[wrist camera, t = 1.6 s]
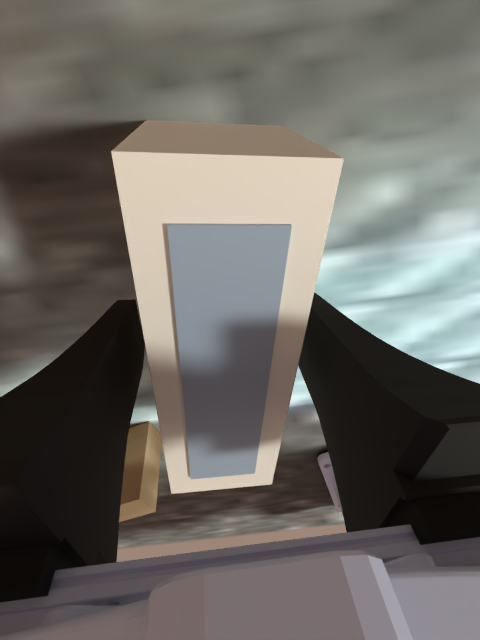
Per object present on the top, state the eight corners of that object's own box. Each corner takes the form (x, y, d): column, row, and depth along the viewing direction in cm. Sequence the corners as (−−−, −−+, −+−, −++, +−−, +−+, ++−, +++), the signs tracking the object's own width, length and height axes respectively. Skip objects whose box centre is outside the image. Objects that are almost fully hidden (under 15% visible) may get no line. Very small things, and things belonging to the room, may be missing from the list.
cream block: (253, 388, 17) (272, 486, 13) (176, 393, 16) (171, 496, 12) (282, 125, 10) (345, 159, 6) (146, 119, 9) (109, 152, 5)
